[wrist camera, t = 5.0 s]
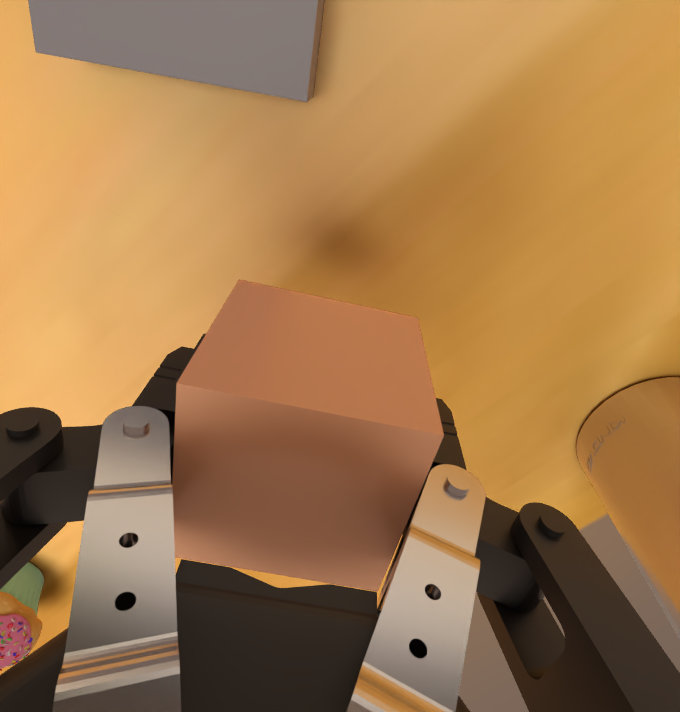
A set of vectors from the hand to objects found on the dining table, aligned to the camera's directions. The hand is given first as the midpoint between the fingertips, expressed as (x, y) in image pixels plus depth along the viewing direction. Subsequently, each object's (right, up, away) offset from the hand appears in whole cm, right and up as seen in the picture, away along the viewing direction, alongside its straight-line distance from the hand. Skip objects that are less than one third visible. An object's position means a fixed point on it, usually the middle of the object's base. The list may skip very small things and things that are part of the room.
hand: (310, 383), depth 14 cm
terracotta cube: (0, 0, 0) cm, 1 cm away
